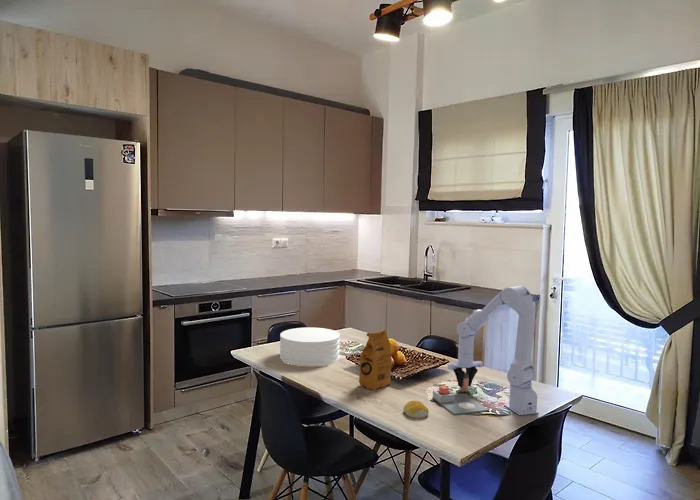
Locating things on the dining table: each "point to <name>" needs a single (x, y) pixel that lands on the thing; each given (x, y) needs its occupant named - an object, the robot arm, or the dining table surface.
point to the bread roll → (415, 409)
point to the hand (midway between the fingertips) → (464, 386)
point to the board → (458, 403)
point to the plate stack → (309, 346)
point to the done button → (443, 390)
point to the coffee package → (376, 361)
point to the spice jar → (465, 383)
